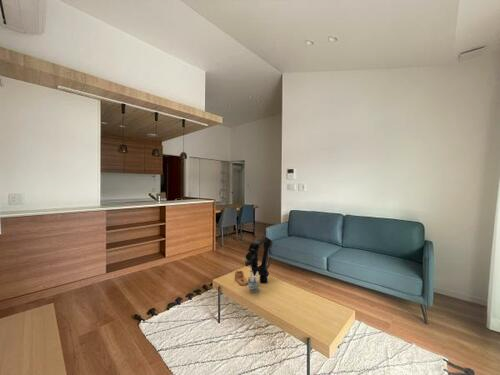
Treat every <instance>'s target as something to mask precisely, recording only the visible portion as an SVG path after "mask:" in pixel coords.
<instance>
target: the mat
mask: <svg viewBox="0 0 500 375" xmlns="http://www.w3.org/2000/svg"><path fill="white" fill-rule="evenodd" d="M249 293H250V294H251V295H253V294H254V295H256V294H257V295H258V294H261V292H260V289H259V287H254V288H249Z"/></svg>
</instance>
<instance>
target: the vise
mask: <svg viewBox="0 0 500 375" xmlns="http://www.w3.org/2000/svg"><path fill="white" fill-rule="evenodd" d="M247 281H248V284H247V286H248V288H249V289H254V288H259V284H258V281H257V282H256V281H255V276H252V282H251V281H250V277H248V278H247Z"/></svg>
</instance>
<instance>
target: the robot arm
mask: <svg viewBox="0 0 500 375" xmlns="http://www.w3.org/2000/svg"><path fill="white" fill-rule="evenodd" d="M273 244H274V243H273V241H272V240H271V239H270V238H269V237H268V236H262V237H261V238H260V239H258V240H257V241H252V242H250V245H249V247H248V252H247V253H246V255H245V259H246V260H244V265H245V267H249V266H250V267H251V270H252V271H253V274H252V276H253V277H255V275H256V273H257V271H258V275H259V277H258V278H259V283H260V284H268V277H269V275H270V272H269V271H268V270H269V269H268V258H269V254H270V249H271V248H272V246H273ZM261 246H263V253H262V259H261V263H260V264H259V251H260V248H261Z"/></svg>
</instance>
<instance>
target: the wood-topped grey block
mask: <svg viewBox="0 0 500 375" xmlns="http://www.w3.org/2000/svg"><path fill="white" fill-rule="evenodd" d="M258 275H259V274H258V271H257V273H256V275H255V276H254V277H255V281H256V282H257V283H258ZM252 277H253V271H252V269H251V270H250V281H251V282H252Z"/></svg>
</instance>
